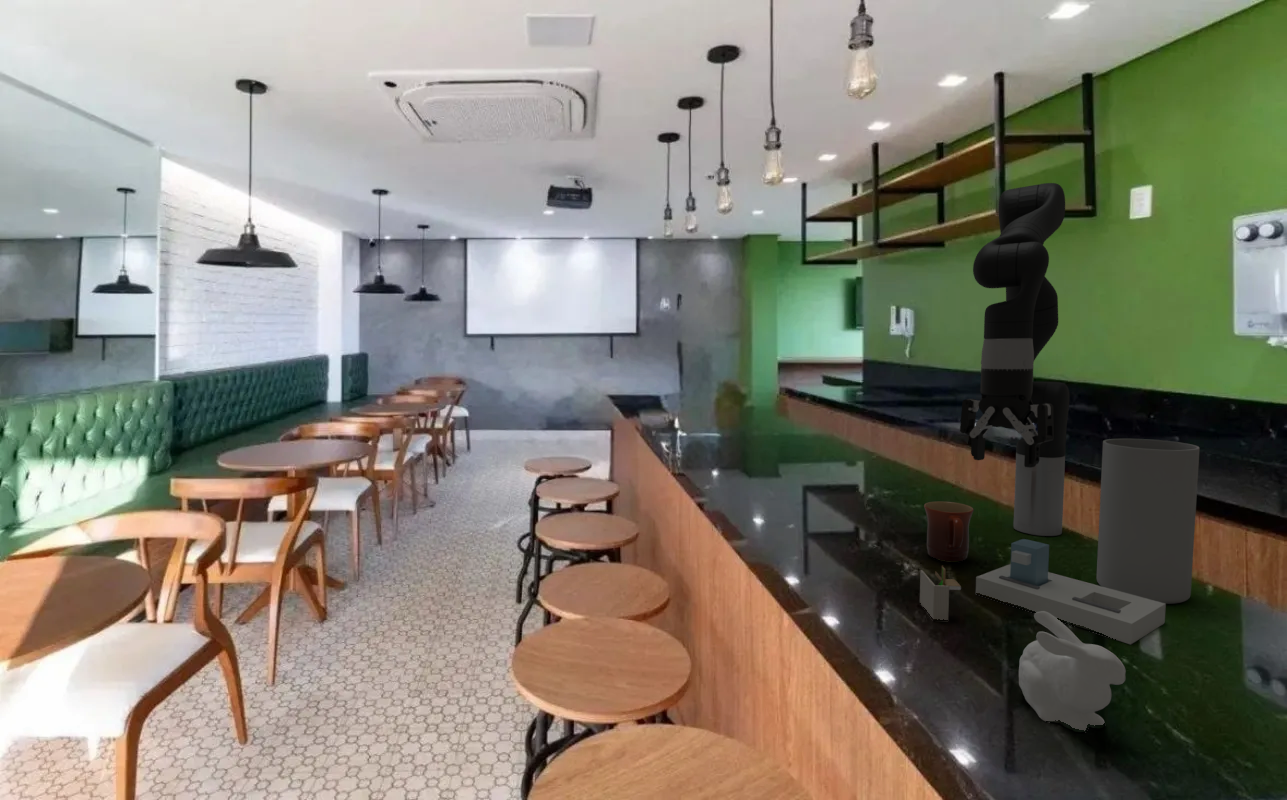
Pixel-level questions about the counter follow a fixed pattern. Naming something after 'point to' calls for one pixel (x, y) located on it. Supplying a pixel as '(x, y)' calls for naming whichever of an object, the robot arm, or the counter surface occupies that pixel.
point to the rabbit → (1067, 675)
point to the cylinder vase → (1147, 518)
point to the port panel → (1078, 603)
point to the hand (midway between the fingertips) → (1003, 463)
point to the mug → (948, 530)
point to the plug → (1029, 562)
